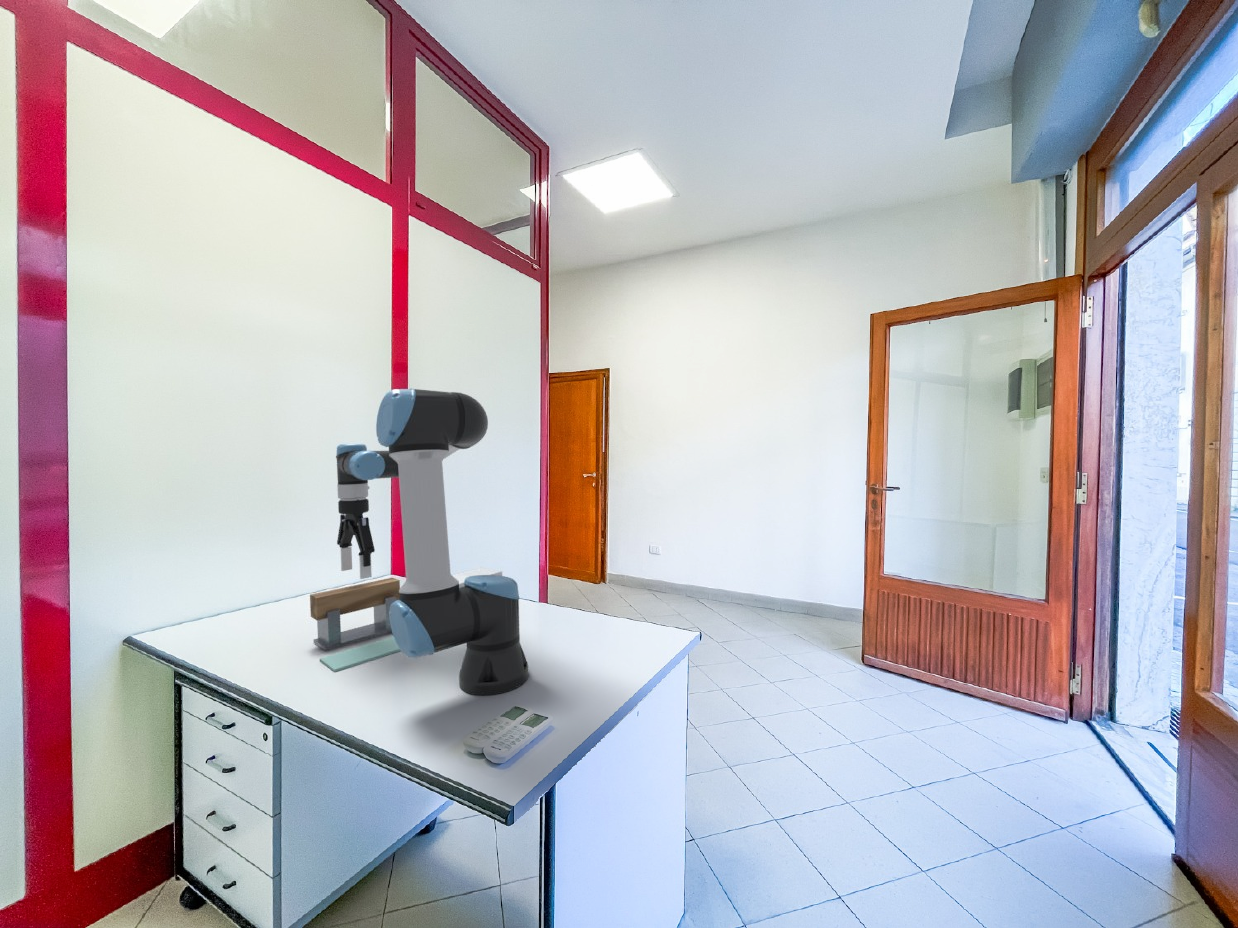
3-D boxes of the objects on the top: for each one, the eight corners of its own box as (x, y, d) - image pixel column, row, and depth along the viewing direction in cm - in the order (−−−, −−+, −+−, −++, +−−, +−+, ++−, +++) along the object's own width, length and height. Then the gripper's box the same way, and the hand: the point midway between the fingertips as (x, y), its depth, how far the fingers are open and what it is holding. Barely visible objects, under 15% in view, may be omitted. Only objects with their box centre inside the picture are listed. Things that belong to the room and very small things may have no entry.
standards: (401, 629, 144) (399, 595, 144) (325, 651, 130) (323, 613, 129) (387, 622, 150) (386, 590, 150) (313, 643, 136) (312, 606, 135)
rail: (400, 600, 146) (399, 580, 146) (317, 620, 130) (316, 597, 130) (392, 597, 150) (392, 577, 149) (310, 616, 133) (309, 594, 133)
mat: (430, 641, 135) (430, 639, 135) (334, 672, 117) (334, 669, 117) (413, 632, 142) (413, 630, 142) (319, 660, 124) (319, 658, 124)
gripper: (386, 500, 133) (388, 578, 134) (350, 495, 150) (352, 564, 151) (356, 503, 128) (359, 584, 129) (323, 497, 144) (325, 569, 145)
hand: (356, 573), depth 140 cm, fingers open, 13 cm apart
